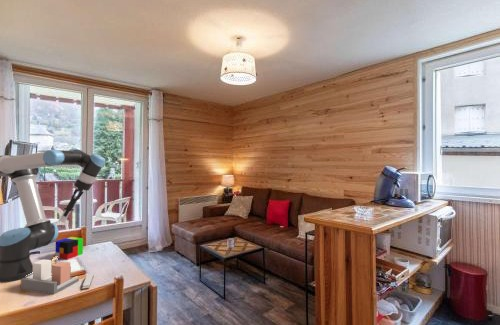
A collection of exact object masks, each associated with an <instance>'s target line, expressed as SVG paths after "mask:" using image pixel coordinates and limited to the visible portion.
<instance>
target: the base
mask: <svg viewBox="0 0 500 325" xmlns="http://www.w3.org/2000/svg"><path fill="white" fill-rule="evenodd" d="M51 276H52V274H51ZM79 281H80V278H79V277H78V275H77V276H75V277H71V276H70V280H68V281H66V282H64V283H62V284H60V285H57V282H54V281H52V277H50V278H48V279H46V280H39V279H32V278H31V277H25V278H22V279H20V290H21V291H27V292H28V291H29V292H32V293H33V292H35V293H41V294H49V295H56V294H58V293H59V292H61V291H63V290H66V289H67V288H69V287H70V286H72V285H74V284H77V283H78V282H79Z"/></svg>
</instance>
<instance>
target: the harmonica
mask: <svg viewBox="0 0 500 325" xmlns="http://www.w3.org/2000/svg"><path fill="white" fill-rule="evenodd" d="M93 279H94V274H88V275H86V276H85V278H84V281H83V283H82V287H81V289H80V291H86V290H90V286H91V285H92V282H93Z"/></svg>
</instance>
